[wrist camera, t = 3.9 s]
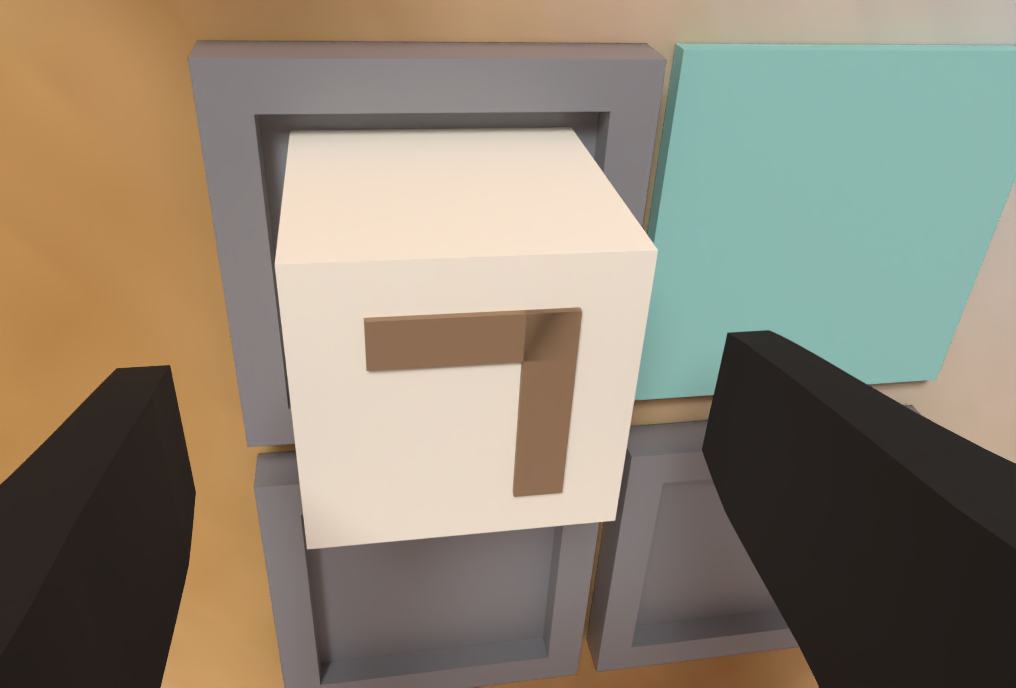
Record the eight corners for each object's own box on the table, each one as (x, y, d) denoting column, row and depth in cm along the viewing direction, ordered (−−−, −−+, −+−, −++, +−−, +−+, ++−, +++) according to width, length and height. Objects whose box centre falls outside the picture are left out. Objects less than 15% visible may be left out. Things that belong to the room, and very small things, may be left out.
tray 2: (595, 428, 18) (608, 459, 17) (567, 641, 22) (577, 674, 21) (258, 453, 17) (254, 488, 16) (290, 673, 21) (288, 710, 20)
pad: (1049, 45, 15) (1065, 51, 15) (925, 369, 19) (936, 379, 19) (675, 43, 14) (683, 49, 14) (624, 389, 18) (629, 400, 17)
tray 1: (646, 43, 14) (666, 59, 13) (600, 390, 18) (614, 420, 17) (197, 40, 13) (188, 58, 12) (251, 413, 16) (248, 446, 16)
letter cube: (571, 127, 14) (660, 253, 10) (550, 354, 16) (616, 525, 13) (289, 130, 13) (274, 268, 9) (312, 368, 16) (307, 554, 12)
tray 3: (911, 405, 19) (937, 432, 19) (833, 609, 23) (852, 640, 22) (618, 426, 18) (631, 457, 17) (586, 638, 22) (596, 671, 21)
